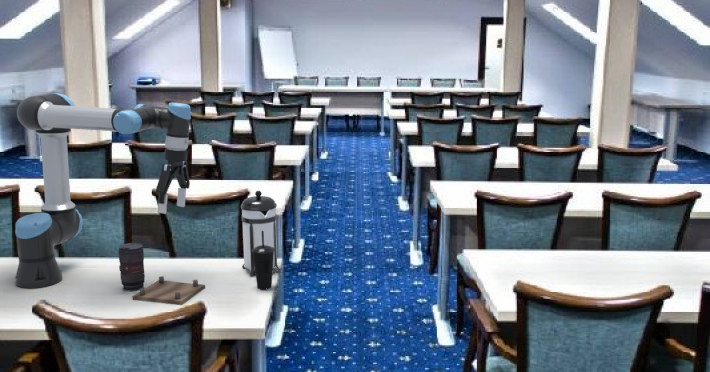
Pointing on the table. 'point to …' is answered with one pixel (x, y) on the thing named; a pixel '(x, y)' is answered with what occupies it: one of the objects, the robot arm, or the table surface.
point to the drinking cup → (263, 265)
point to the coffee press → (258, 227)
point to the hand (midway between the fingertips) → (171, 209)
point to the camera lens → (131, 266)
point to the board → (169, 291)
